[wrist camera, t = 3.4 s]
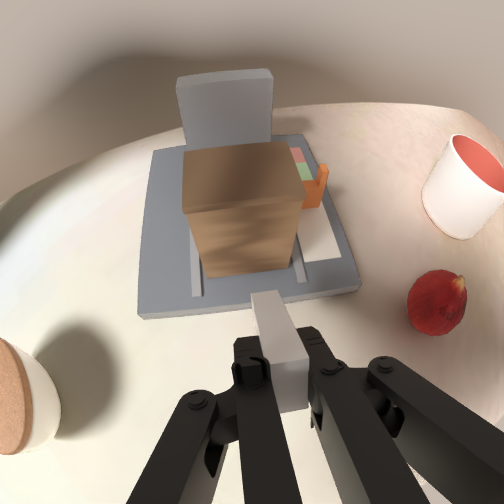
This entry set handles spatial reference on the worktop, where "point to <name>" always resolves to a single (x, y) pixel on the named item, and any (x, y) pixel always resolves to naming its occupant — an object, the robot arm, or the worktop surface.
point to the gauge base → (177, 227)
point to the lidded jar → (25, 402)
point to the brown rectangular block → (242, 206)
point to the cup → (463, 188)
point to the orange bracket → (315, 188)
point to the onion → (437, 302)
